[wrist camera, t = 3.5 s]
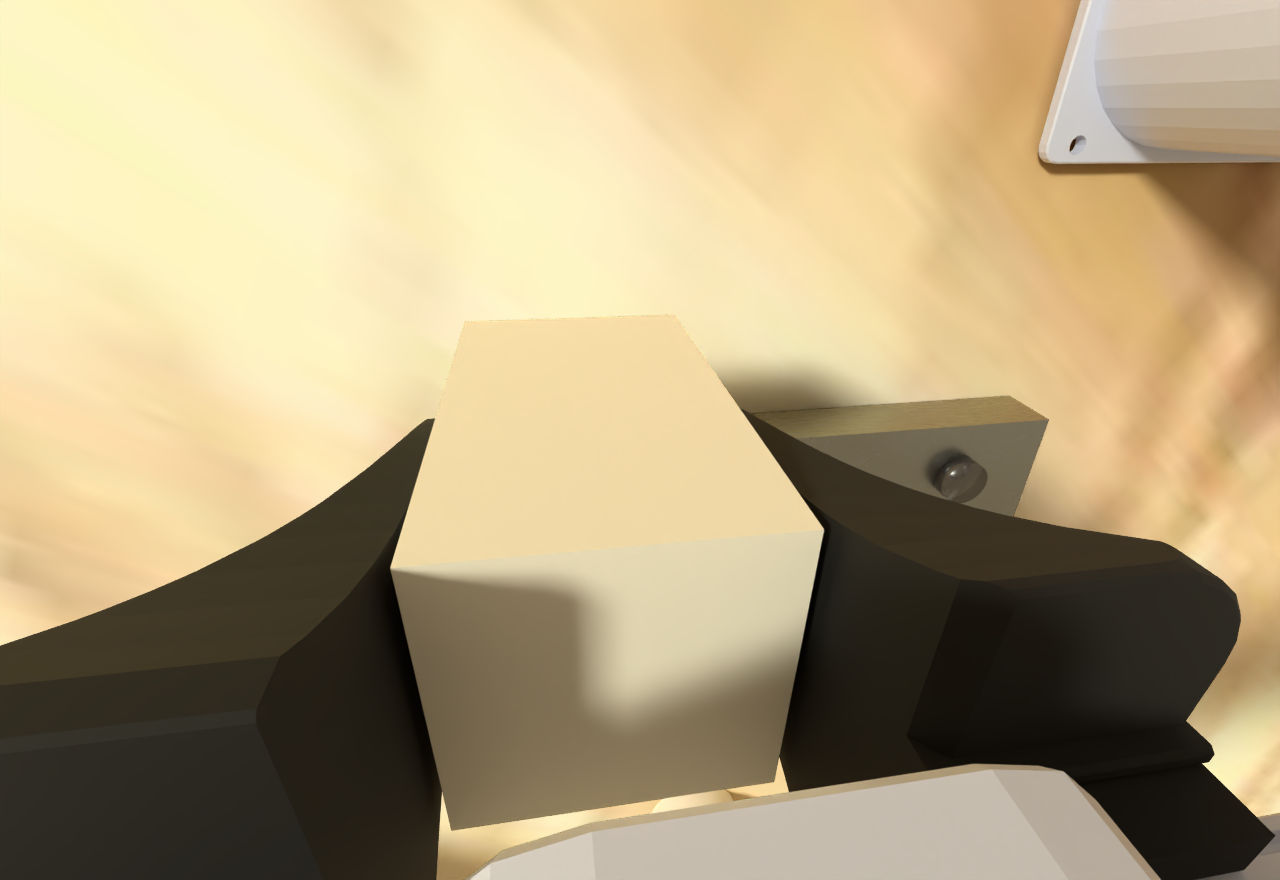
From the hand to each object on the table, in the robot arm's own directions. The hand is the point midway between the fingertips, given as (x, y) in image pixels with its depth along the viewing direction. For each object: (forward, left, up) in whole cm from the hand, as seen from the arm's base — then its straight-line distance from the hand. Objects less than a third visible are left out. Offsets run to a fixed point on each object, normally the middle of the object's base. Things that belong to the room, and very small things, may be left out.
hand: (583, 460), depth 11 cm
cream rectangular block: (0, 0, -2) cm, 2 cm away
